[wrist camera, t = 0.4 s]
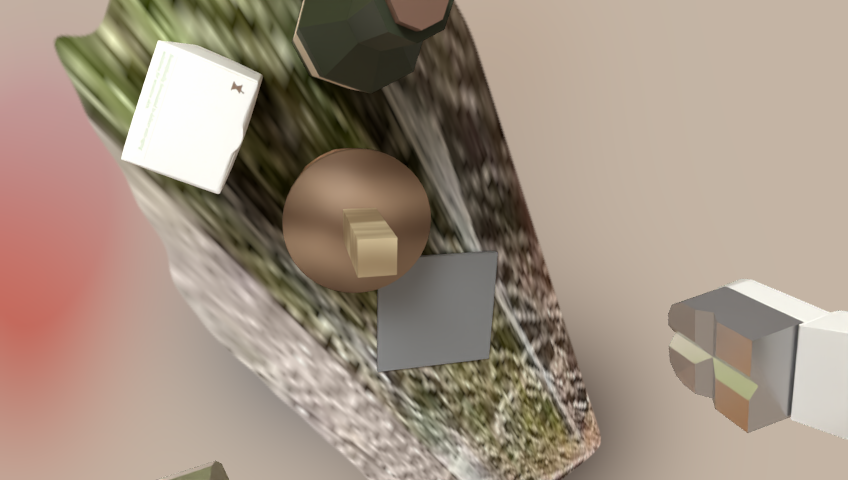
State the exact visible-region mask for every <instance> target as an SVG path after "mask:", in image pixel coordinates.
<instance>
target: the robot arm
mask: <svg viewBox="0 0 848 480" xmlns="http://www.w3.org/2000/svg"><path fill="white" fill-rule="evenodd" d="M668 317H669V319H668V325H669V326H670V327H671V328H672V330H673V331H674V332H675V335H674V337H673V339H672V341H671V343H670V345H669V356H670V363H671V365H672V367H673V369H674V371H675V373H676V376H677V377H678V378H679V379H680V381H681V382H682V383H683V384H684V385H685V386H686V387H688V388H689V389H690V390H691V391H692V392H694V393H695V394H699V395H702V396H706V397H710V398H712V399H713V403H714V406H715V409H716V410H718V411H719V412H720V413H722V414H723V415H724V416H725V417H727V418H728V419H729V420H731V421H732V422H733V423H735V424H736V425H737V426H739V427H740V428H742V429H743V430H744V431H746V432H747V433H749V432H752V431H755V430H757V429H760V428H762V427H765V426H768V425H770V424H773V423H776V422H778V421H781V420H784V419H786V418H789V417H791V420H793V421H796V422H799V423H802V424H804V425H807V426H810V427H813V428H816V429H818V430H821V431H824V432H827V433H830V434H833V435H836V436H838V437H841V438H844V439H847V440H848V312H847V311H839V310H838V311H835V312H832V313H830V312H828V311H825V310H823V309H820V308H818V307H816V306H813V305H811V304H808V303H806V302H804V301H801V300H799V299H796V298H794V297H792V296H789V295H787V294H785V293H782V292H780V291H778V290H775V289H773V288H770V287H768V286H765V285H763V284H761V283H758V282H756V281H754V280H750V279H740V280H737V281H735V282H732V283H729V284H727V285H724V286H721V287H719V288H718V289H716V290H713V291H710V292H707V293H704V294H702V295H699V296H696V297H693V298H690V299H687V300H684V301H681V302H679V303H676V304H673V305H672V306H671V308H670V311H669V313H668ZM157 480H229V478H228V476H227V474H226V472H225V470H224V468H223V466H222V464H221V463H219V462H217V461H213V462H211V463H207V464H204V465H201V466H198V467H195V468H192V469H189V470H185V471H182V472H179V473H176V474H173V475H170V476H167V477H163V478H160V479H157Z"/></svg>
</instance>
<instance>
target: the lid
mask: <svg viewBox="0 0 848 480" xmlns="http://www.w3.org/2000/svg"><path fill="white" fill-rule="evenodd" d="M430 226H431V211H430V205H429V201H428V197H427V194H426V192H425V190H424V188H423V186H422V184H421V183H420V181H419V179H418V178H417V177H416V176H415V174H414V173H413V172H412V171H411V170H410V169H409V168H408V167H406V166H405V165H404V164H403V163H401V162H400V161H398V160H397V159H395V158H394V157H392V156H390V155H388V154H385V153H382V152H379V151H376V150H371V149H363V148H352V149H344V150H339V151H336V152H333V153H330V154H327V155H325V156H323V157H321V158H319V159H318V160H316V161H315V162H313V163H312V164H311V165H309V166H308V167H307V168H306V169H305V170H304V171H303V172H302V173H301V174H300V175H299V177H298V178H297V179H296V180H295V182H294V184H293V185H292V187H291V189H290V191H289V193H288V195H287V198H286V201H285V204H284V210H283V235H284V240H285V243H286V247H287V249H288V251H289V254H290V256H291V257H292V259H293V261H294V262H295V264H296V265H297V266H298V267H299V269H300V270H301V271H302V272H303V273H304V274H305V275H306V276H307V277H309V278H310V279H312V280H313V281H314V282H316V283H318V284H320V285H322V286H324V287H326V288H329V289H332V290H336V291H340V292H348V293H361V292H368V291H373V290H376V289H380V288H382V287H385V286H387V285H389V284H391V283H393V282H395V281H396V280H397V279H399V278H400V277H402V276H403V275H404V274H405V273H406V272H408V271H409V270H410V269H411V267H412V266H413V265H414V264H415V263H416V261H417V260H418V259H419V257H420V256H421V254H422V252H423V250H424V248H425V246H426V243H427V240H428V237H429V232H430Z"/></svg>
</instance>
